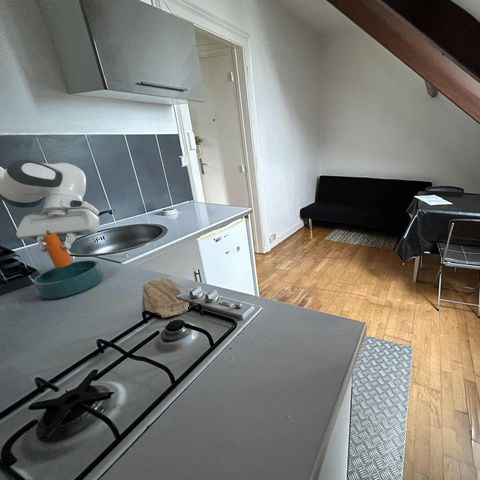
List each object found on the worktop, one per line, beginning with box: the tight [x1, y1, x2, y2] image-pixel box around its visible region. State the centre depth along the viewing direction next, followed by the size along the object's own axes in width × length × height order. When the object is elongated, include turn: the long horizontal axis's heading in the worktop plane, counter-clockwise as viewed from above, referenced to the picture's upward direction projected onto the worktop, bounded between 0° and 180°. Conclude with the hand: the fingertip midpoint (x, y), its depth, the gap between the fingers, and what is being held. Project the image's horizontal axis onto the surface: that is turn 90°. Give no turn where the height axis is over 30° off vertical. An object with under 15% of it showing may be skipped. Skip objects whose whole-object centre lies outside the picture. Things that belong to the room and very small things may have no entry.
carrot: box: [43, 230, 74, 268], centre depth 79 cm, size 4×4×11 cm
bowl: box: [32, 259, 104, 300], centre depth 83 cm, size 15×15×6 cm
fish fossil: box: [142, 277, 190, 319], centre depth 75 cm, size 26×10×1 cm, turn 48°
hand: (55, 249), depth 78 cm, fingers closed on carrot, 4 cm apart
